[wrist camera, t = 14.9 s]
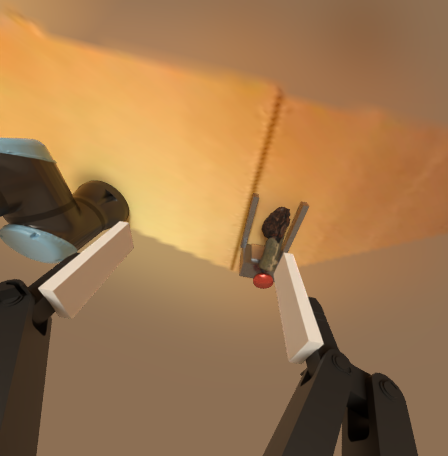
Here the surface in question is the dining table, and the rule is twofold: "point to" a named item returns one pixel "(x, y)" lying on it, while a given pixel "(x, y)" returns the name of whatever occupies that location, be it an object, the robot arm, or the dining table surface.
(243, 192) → the dining table surface
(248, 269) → the cradle
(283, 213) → the morel mushroom
